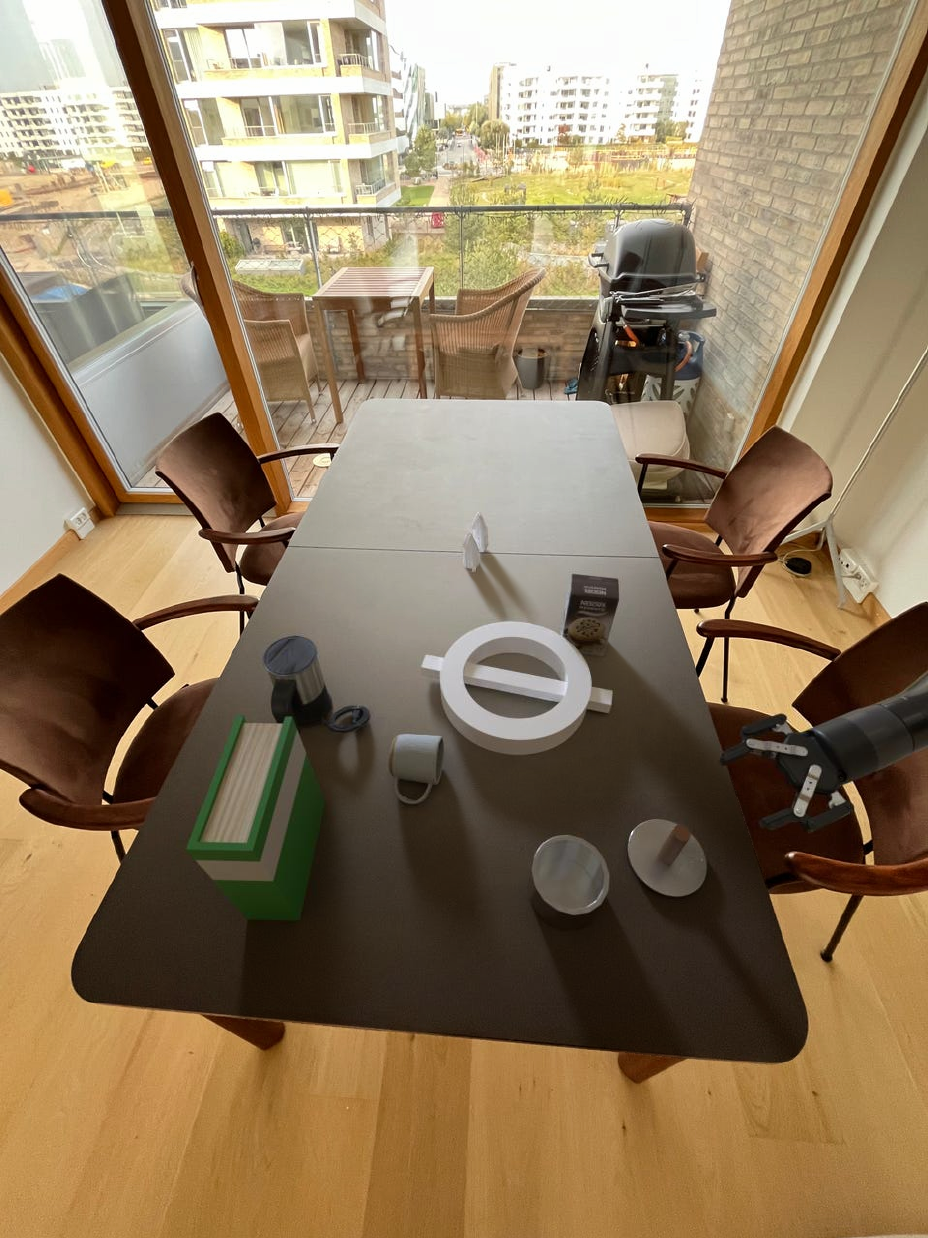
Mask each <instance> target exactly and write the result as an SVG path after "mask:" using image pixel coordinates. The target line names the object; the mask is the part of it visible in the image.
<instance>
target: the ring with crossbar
mask: <svg viewBox="0 0 928 1238" xmlns="http://www.w3.org/2000/svg"><path fill="white" fill-rule="evenodd" d="M509 653H510V654H521V655H526V656H530V657H533V658H536V659H537V660H539V661H541V662H543V663H545V664H546V665H548V666H549V667H550V668H551V669H552V670H553V671H554V672H555V673H556V675H557V676H558V678H559V679H560V680H559V679H555V678H551V677H550V678H549V677H545V676H544V677H543V676H540V675H534V674H528V673H523V672H518V671H513V670H508V669H503V668H498V667H493V666H487V665H482V664H479V663H480V662H481V661H483V660H485V659H487V658H489V657H492V656H495V655H499V654H509ZM588 665H589V664H588V663H587V661H586V658H584V656H583V654H581V653H580V652H579V651H578V650H577V648H576V647H575V646H574V645H573V644H571V643H570V642H569V641H568V640H567V639H565V638H564V637H562V636H561V635H560V633H558V632H556V631H553V630H551V629H549V628H547V627H545V626H542V625H539V624H535V623H529V622H523V621H498V622H492V623H488V624H484V625H482V626H478V627H475V628H473V629H472V630H469V631H468V632H466V633H465V634H463V635H462V636H460V637H459V638H458V639H457V640H455V642H454V643H453V644H451V646H450V647H449V649H448V650H447V651H446V653H445V655H444V657H442V656H436V655H431V654H425V656H424V658H423V661H422V664H421V666H420V672H421V673H420V674H421V676H424V677H428V678H435V679H439V687H440V699H441V706H442V708H443V711H444V713H445V715H446V717H447V719H448V721H449V722H450V724H451V725H452V726H453V727H454V728H455V730H456V731H457V732H458V733H459V734H461V736H463V737H464V738H465V739H467V740H468V741H469V742H471V743H473V744H475V745H476V746H478V747H481V748H483V749H484V750H488V751H492V752H495V753H499V754H504V755H513V756H526V755H532V754H533V755H534V754H539V753H542V752H546V751H549V750H551V749H554V748H556V747H558V746H559V745H561V744H563V743H564V742H566V741H567V740H568V739H570V738H571V737H572V736H573V735H574V734H575V732H576V731H577V730H578V729H579V727H580V726H581V724H582V722H583V721H584V719H585V716H586V713H587V710H591V711H595V712H600V713H606V714H610V712H611V708H612V704H613V703H612V701H613V690H611V689H606V688H600V687H595V686H592V676H591V675H592V674H591V672H590V668H589V666H588ZM465 684H467V685H472V686H476V687H480V688H481V687H482V688H486V689H492V690H497V691H501V692H506V693H511V694H515V695H520V696H526V697H531V698H534V699H535V698H536V699H541V700H544V701H545V700H546V701H551V702H556V703H557V704H555V706H554V707H553V708H551V709H549V710H548V711H546V712H544V713H541V714H539V715H536V716H532V717H525V718H516V717H515V718H512V717H506V716H502V715H498V714H495V713H493V712H491V711H489V710H487V709H485V708H483V707H482V706H480V705H479V704H478V703H477V702H476V701H475V700H474V699H473V698H472V697H471V694H470V693H469V692H468V690H467V688H466V685H465Z"/></svg>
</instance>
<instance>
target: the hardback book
mask: <svg viewBox="0 0 928 1238" xmlns="http://www.w3.org/2000/svg"><path fill="white" fill-rule="evenodd" d="M303 743H304V742H303V741H302V738H301V735H300V736H299V733H298V730H297V728H296V725H295V723H294V720H293V717H285V719H284V722H283V724H277V723H273V722H272V723H269V722H268V723H267V722H266V723H265V722H247V720H246V718H245V716H244V715H236V716H235V719H234V721H233V724H232V726H231V729H230V732H229V734H228V737H227V740H226V742H225V745H224V748H223V750H222V754H221V755H220V759H219V761H218V763H217V766H216V768H215V772H214V774H213V777H212V779H211V782H210V785H209V787H208V789H207V793H206V795H205V798H204V801H203V803H202V806H201V809H200V810H199V813H198V815H197V819H196V821H195V824H194V826H193V830H192V832H191V835H190V837H189V839H188V841H187V845H186V847H185V850H186V852H188V854H189V855H190V856H191V857H192V858H193V860H194V861H195V862H196V863H197V864H198V865H199V867H200V868H202V870H203V871H204V872H205V874H207V876H208V877H210V879H211V880H212V881H213V882H214V883H215V885H216V886H217V887H218V888H219V889H220V890H221V891H222V892H223V893H224V895H226V897H227V898H228V899H229V900H230V901H231V903H232V904H233V905H234V906H235V908H237V910H239V912H240V913H241V914H242V915H243V917H245V918H246V920H256V921H257V920H259V921H296V922H297V921H298V922H299V921H301V917H302V913H303V908H304V902H305V899H306V894H307V890H308V889H307V888H308V883H309V881H310V874H311V870H312V867H313V862H314V856H315V852H316V847H317V842H318V837H319V833H320V828H321V823H322V818H323V815H324V814H323V813H324V809H325V805H326V801H325V798H324V795H323V793H322V790H321V788H320V784H319V783H318V780H317V778H316V774H315V772H314V770H313V767H312V764H311V761H310V759H309V757H308V754H307V751H306V749H305V746H304V744H303Z"/></svg>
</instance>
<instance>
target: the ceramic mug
mask: <svg viewBox="0 0 928 1238" xmlns="http://www.w3.org/2000/svg"><path fill="white" fill-rule="evenodd" d="M444 755H445V743H444V737H442V736H440V735H427V734H412V733H403V734H397V735H396V736H395V737H394V738H393V740H392V742H391V745H390V750H389V755H388V770H389V773H390V775H391V776H392V777H394V783H393V784H394V792H395V795H396V796H397V798H398V799H399V800H400V801H401V802H402V803H405V804H408V805H418V804H421V803H422V802H424V801H425V800H426V799H427V797H428V796H429V794H430V792H431V790H432V787H433V785H438V784H439V782H440V779H441V775H442V772H443V764H444ZM400 780H404V781H412V782H417V783H422V784H427V788H426V790H425V792H424V793H423V795H422V796H420V797H419V798H418V799H411V798H408V797H407V796H406V795H402V794H401V793H400V790H399V781H400Z"/></svg>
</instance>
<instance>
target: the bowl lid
mask: <svg viewBox="0 0 928 1238" xmlns="http://www.w3.org/2000/svg"><path fill="white" fill-rule="evenodd" d="M626 848H627V849H626V850H627V858H628V863H629V865H630V868H631V869H632V871H633V873H634V874H635V875H636V877H637V878H638V879H639V881H640V882H641V883H642V884H643V885H644V886H645V887H647V888H648V889H649V890H651V891H653V892H654V893H656V894H659V895H661V896H664V897H668V898H684V897H687V896H690V895H692V894H694V893H696V892H697V891H698V890H699V889H700V887H701V886H702V885H703V883H704V881H705V879H706V876H707V870H708V869H707V868H708V867H707V859H706V855H705V852H704V850H703V848H702V846H701V844H700V842H699V841H698V840H697V839H696V837H695V836H694V835H693V834H692V833H691V831H690V829H689V828H688V827H687V826H685V825H684V824H678V823H676V822H673V821H670V820H668V819H661V818H660V819H659V818H656V819H649V820H646V821H643V822H641V823H639V824H638V825H637V826H636V827H634V829H633V830H632V832H631V833H630V835H629V837H628V841H627V847H626Z"/></svg>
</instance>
